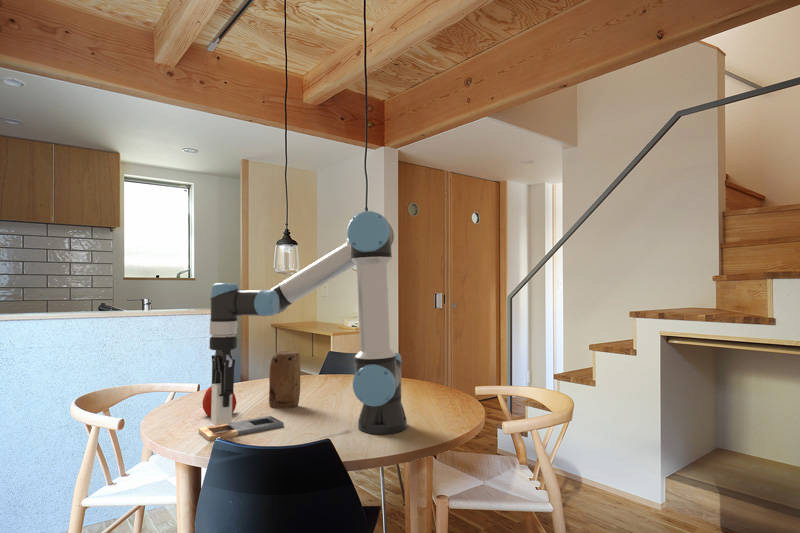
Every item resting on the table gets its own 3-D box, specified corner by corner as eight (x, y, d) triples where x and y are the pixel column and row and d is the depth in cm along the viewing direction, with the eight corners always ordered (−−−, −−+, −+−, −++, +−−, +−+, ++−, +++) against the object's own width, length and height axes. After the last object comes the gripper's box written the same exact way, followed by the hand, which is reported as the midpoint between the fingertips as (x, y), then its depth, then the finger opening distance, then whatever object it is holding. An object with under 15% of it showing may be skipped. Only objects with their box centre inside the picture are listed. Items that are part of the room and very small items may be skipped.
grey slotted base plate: (283, 429, 143) (283, 422, 143) (208, 444, 129) (209, 436, 129) (270, 422, 150) (270, 415, 151) (198, 435, 137) (198, 428, 137)
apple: (202, 412, 162) (203, 381, 163) (235, 409, 166) (236, 379, 166) (201, 420, 152) (202, 387, 153) (236, 417, 156) (237, 385, 156)
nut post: (231, 422, 136) (232, 384, 136) (215, 425, 133) (216, 386, 134) (226, 419, 139) (227, 382, 140) (210, 422, 136) (211, 384, 137)
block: (301, 405, 173) (302, 350, 174) (296, 410, 165) (296, 353, 166) (272, 404, 173) (273, 350, 174) (265, 409, 166) (266, 353, 167)
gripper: (247, 337, 133) (245, 420, 132) (226, 332, 147) (224, 408, 145) (220, 338, 128) (218, 425, 127) (201, 334, 142) (199, 411, 141)
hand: (221, 415), depth 136 cm, fingers closed on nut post, 4 cm apart
